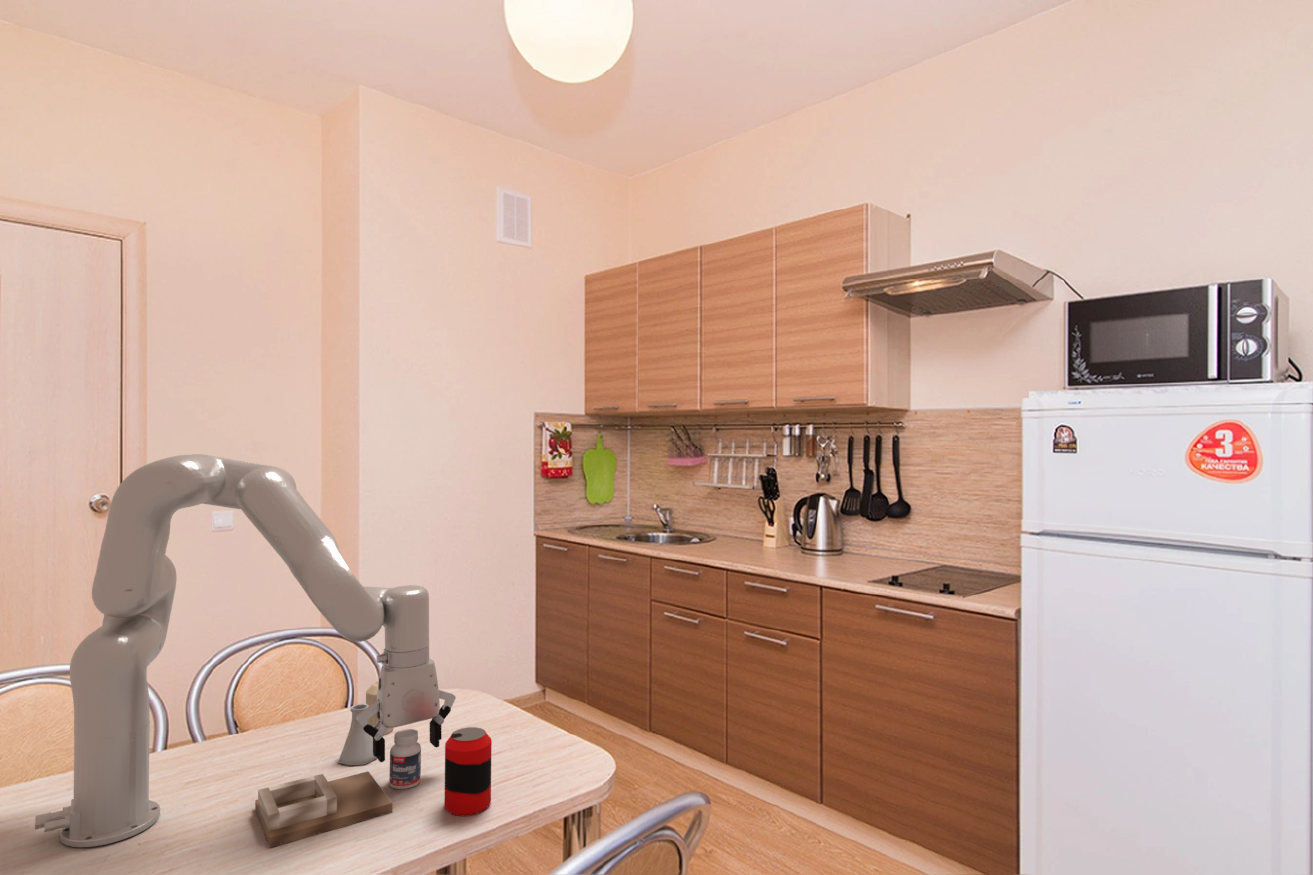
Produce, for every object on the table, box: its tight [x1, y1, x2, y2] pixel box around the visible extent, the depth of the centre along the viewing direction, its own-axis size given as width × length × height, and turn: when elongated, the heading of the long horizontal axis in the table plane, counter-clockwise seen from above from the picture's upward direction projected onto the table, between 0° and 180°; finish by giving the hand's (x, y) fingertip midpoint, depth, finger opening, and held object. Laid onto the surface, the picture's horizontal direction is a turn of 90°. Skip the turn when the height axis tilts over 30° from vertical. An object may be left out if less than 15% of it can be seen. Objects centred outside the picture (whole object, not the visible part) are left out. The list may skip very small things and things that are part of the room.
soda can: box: [443, 726, 492, 817], centre depth 122 cm, size 8×8×12 cm
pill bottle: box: [388, 728, 422, 790], centre depth 130 cm, size 5×5×9 cm
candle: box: [365, 681, 394, 736], centre depth 153 cm, size 6×6×10 cm
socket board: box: [254, 771, 393, 849], centre depth 120 cm, size 18×14×4 cm
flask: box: [337, 703, 377, 766], centre depth 140 cm, size 7×7×10 cm
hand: (408, 751), depth 130 cm, fingers open, 9 cm apart
